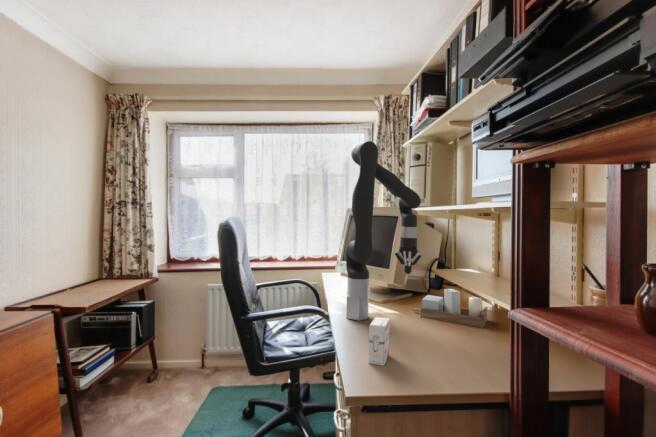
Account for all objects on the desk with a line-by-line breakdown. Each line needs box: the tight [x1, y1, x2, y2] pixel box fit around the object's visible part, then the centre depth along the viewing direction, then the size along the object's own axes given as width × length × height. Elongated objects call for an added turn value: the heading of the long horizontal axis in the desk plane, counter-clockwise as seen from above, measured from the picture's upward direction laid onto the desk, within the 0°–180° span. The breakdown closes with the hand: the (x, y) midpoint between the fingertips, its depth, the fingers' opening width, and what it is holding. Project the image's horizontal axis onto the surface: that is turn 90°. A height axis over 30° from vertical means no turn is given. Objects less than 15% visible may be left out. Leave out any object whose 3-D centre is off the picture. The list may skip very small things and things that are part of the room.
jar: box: [468, 296, 483, 318], centre depth 137 cm, size 5×5×10 cm
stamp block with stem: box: [412, 294, 444, 313], centre depth 148 cm, size 9×12×7 cm
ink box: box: [368, 316, 391, 366], centre depth 101 cm, size 9×5×12 cm, turn 159°
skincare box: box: [443, 288, 461, 314], centre depth 142 cm, size 6×4×12 cm
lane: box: [420, 304, 488, 329], centre depth 142 cm, size 12×25×6 cm, turn 58°
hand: (408, 273), depth 152 cm, fingers closed
